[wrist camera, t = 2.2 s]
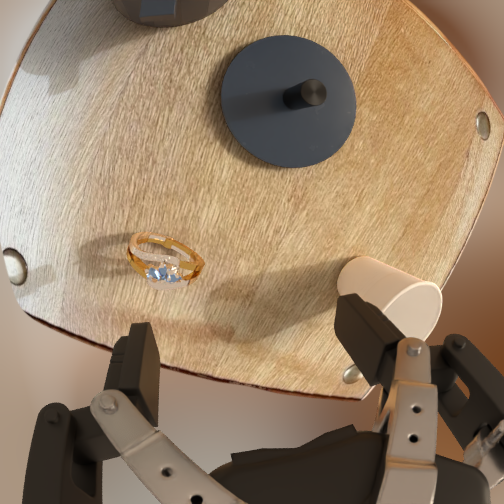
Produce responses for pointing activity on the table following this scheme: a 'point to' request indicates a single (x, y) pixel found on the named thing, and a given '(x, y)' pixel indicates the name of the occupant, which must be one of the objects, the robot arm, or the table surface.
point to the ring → (163, 262)
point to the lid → (288, 101)
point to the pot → (167, 11)
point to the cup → (393, 294)
